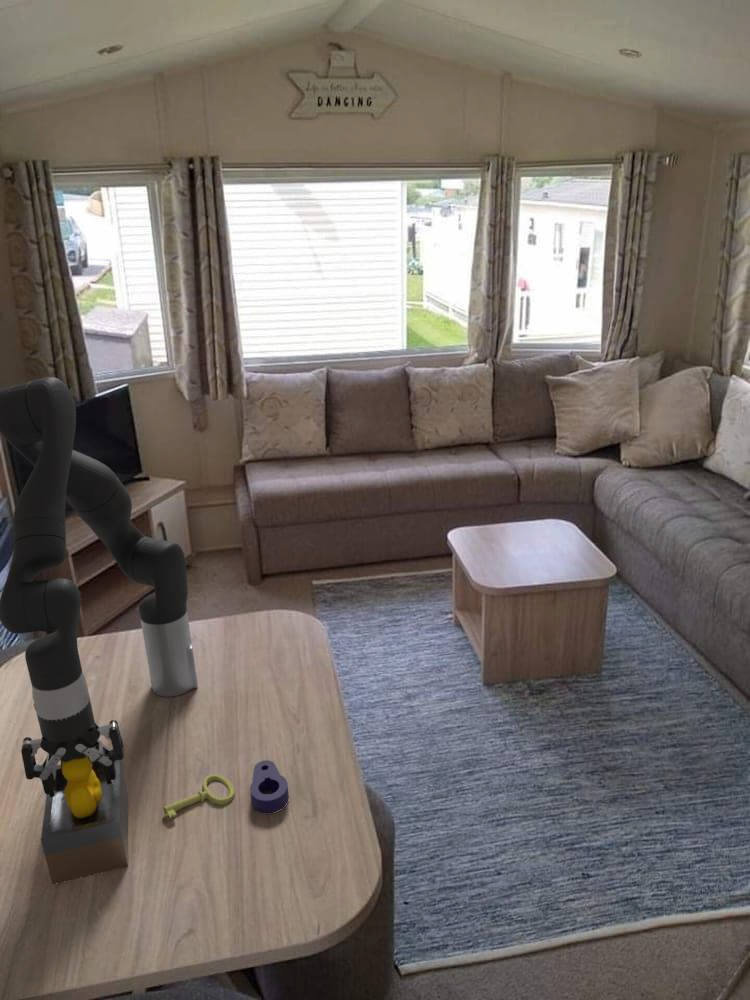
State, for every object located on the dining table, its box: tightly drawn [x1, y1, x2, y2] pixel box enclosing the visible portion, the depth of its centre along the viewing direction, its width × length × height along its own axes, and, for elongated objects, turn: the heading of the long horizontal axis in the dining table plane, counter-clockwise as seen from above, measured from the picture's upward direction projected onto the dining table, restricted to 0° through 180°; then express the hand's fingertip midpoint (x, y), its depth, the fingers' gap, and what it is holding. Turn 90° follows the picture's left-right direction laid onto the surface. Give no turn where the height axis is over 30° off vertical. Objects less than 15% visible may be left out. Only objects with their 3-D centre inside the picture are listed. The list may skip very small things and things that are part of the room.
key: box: [163, 773, 236, 819], centre depth 130 cm, size 7×12×2 cm, turn 143°
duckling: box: [60, 756, 102, 818], centre depth 120 cm, size 11×5×10 cm, turn 21°
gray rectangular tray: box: [40, 759, 129, 886], centre depth 122 cm, size 11×16×9 cm
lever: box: [249, 759, 290, 815], centre depth 133 cm, size 12×6×3 cm, turn 14°
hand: (81, 786), depth 120 cm, fingers open, 8 cm apart
